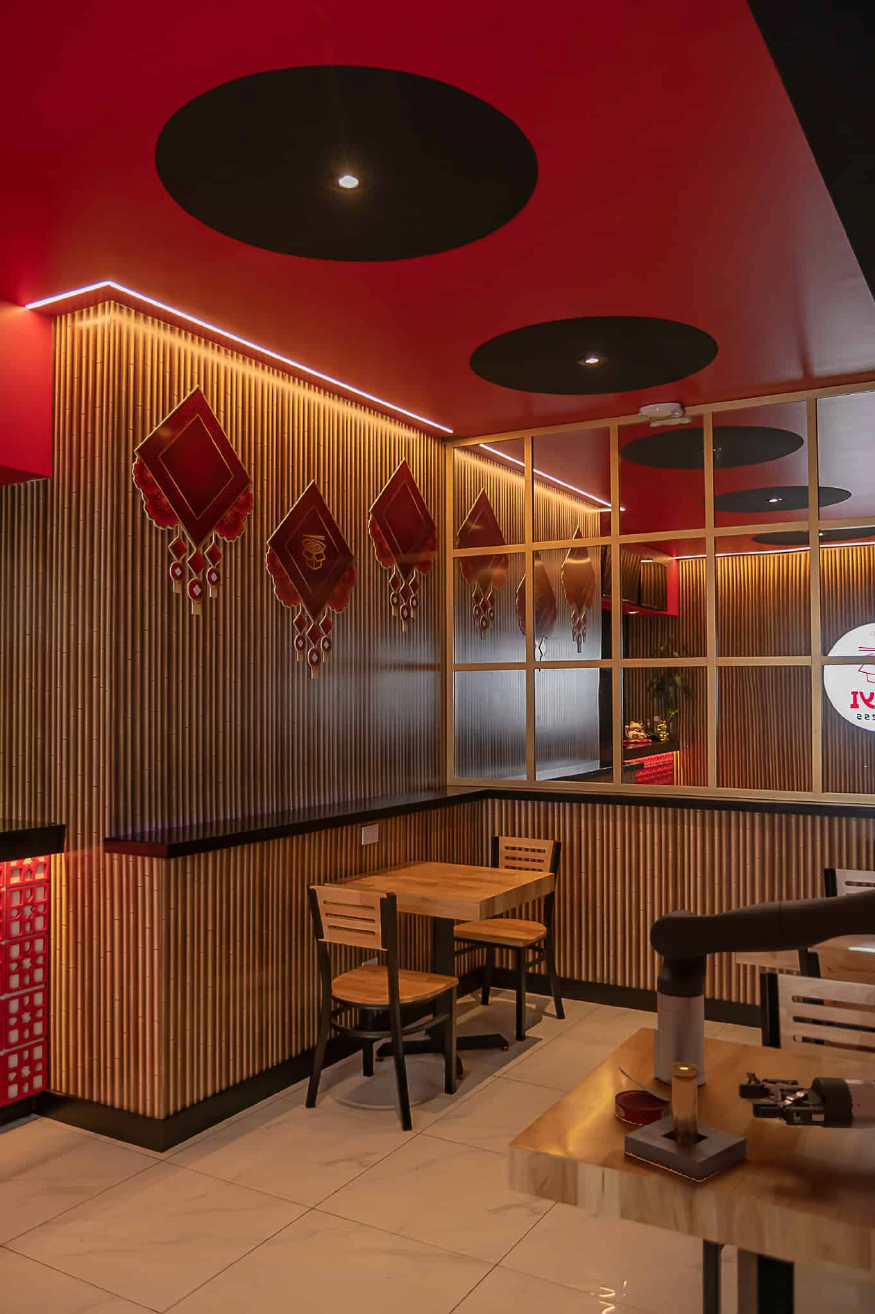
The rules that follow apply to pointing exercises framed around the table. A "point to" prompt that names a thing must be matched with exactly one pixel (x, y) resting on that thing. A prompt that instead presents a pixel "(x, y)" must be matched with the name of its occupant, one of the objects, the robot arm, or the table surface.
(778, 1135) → the table surface
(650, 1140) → the jig
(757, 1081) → the brown turned rod
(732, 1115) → the table surface
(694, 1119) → the bushing
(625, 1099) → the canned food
